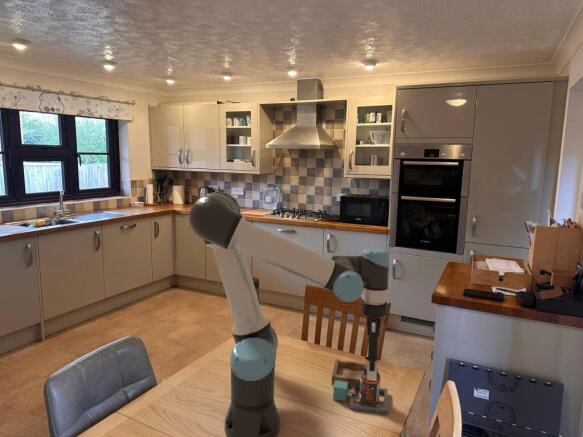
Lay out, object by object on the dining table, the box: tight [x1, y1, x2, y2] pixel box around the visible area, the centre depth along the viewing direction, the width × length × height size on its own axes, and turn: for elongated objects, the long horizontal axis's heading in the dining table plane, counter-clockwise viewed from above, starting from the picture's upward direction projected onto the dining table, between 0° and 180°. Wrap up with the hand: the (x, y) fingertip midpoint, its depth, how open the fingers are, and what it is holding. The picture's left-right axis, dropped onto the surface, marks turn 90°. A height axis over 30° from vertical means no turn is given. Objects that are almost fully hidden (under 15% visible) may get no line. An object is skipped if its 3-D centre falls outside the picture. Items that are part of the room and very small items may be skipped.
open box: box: [331, 358, 367, 388], centre depth 139 cm, size 11×11×3 cm
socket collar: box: [349, 384, 389, 416], centre depth 126 cm, size 11×11×2 cm
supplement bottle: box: [358, 364, 381, 406], centre depth 125 cm, size 6×6×11 cm
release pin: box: [332, 380, 356, 402], centre depth 127 cm, size 6×4×4 cm, turn 78°
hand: (372, 367), depth 125 cm, fingers open, 13 cm apart
